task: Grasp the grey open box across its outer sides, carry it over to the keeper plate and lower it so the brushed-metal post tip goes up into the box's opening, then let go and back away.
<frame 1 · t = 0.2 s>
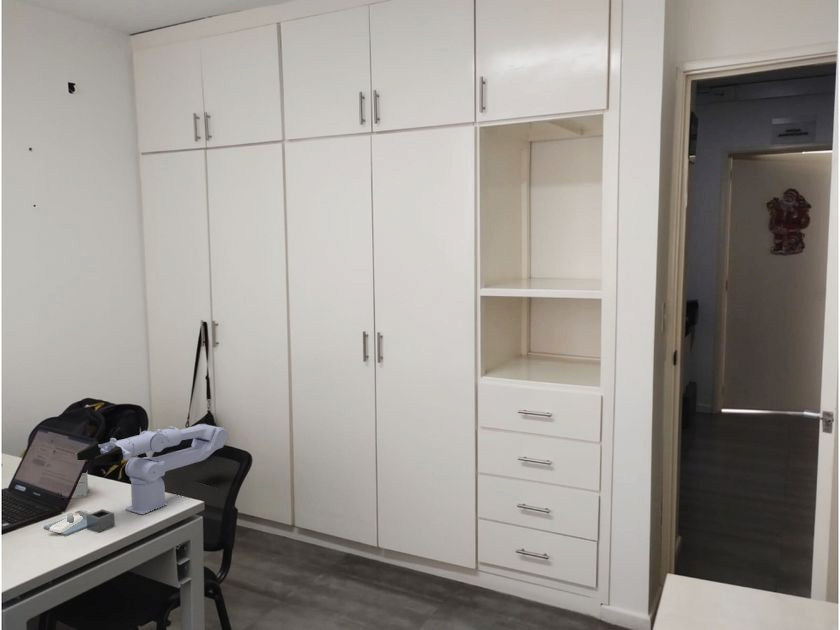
hand: (86, 459, 198), 21 cm above the table, tool horizontal, fingers open, 7 cm apart
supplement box: (75, 495, 227), on the table
grey open box: (100, 527, 202), on the table
keeper: (71, 525, 203), on the table
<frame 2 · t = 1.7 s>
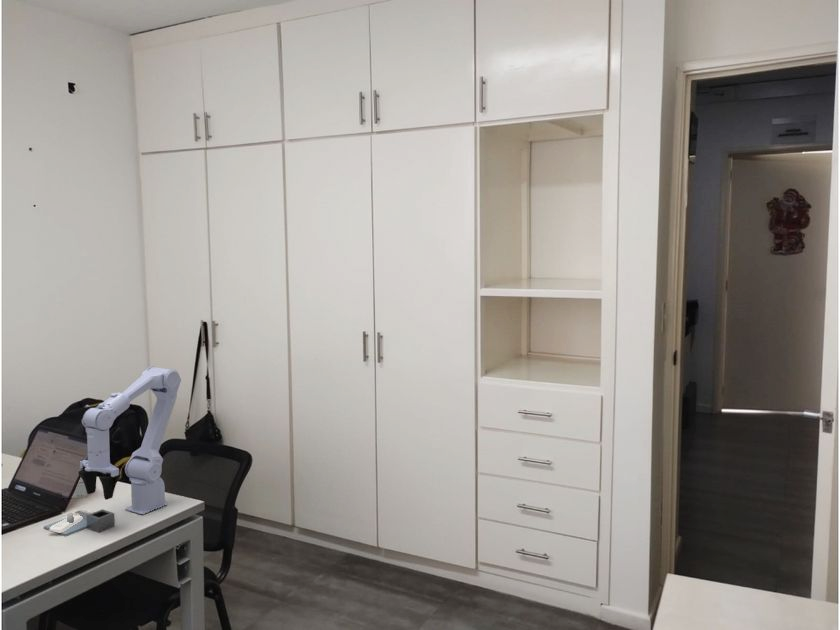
hand: (99, 495, 201), 10 cm above the table, tool pointing down, fingers open, 7 cm apart
nothing on the table moved.
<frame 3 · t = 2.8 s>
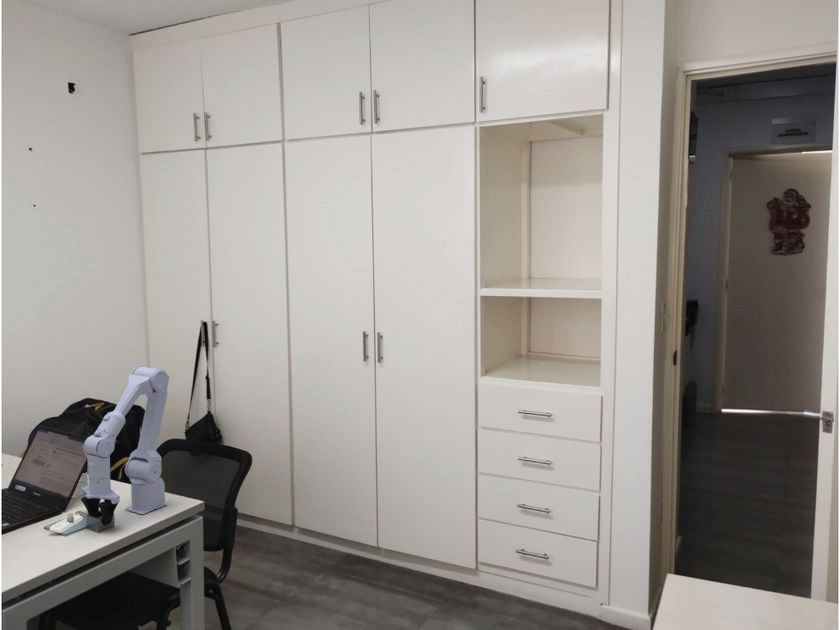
hand: (100, 522, 202), 2 cm above the table, tool pointing down, fingers closed on grey open box, 5 cm apart
grey open box: (100, 527, 202), on the table, touching gripper
everything else where it was.
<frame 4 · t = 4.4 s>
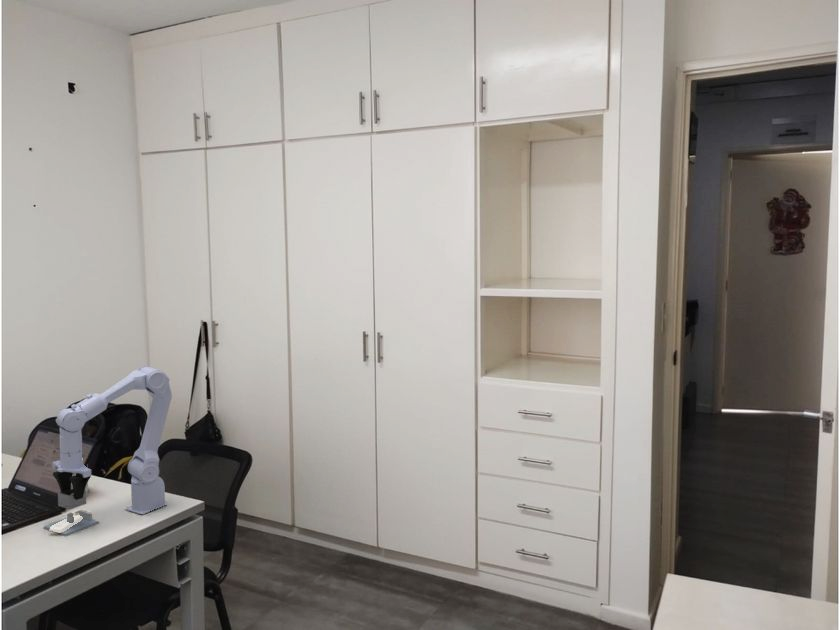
hand: (72, 496, 202), 9 cm above the table, tool pointing down, fingers closed on grey open box, 5 cm apart
grey open box: (72, 504, 202), point 7 cm above the table, touching gripper
everything else where it was.
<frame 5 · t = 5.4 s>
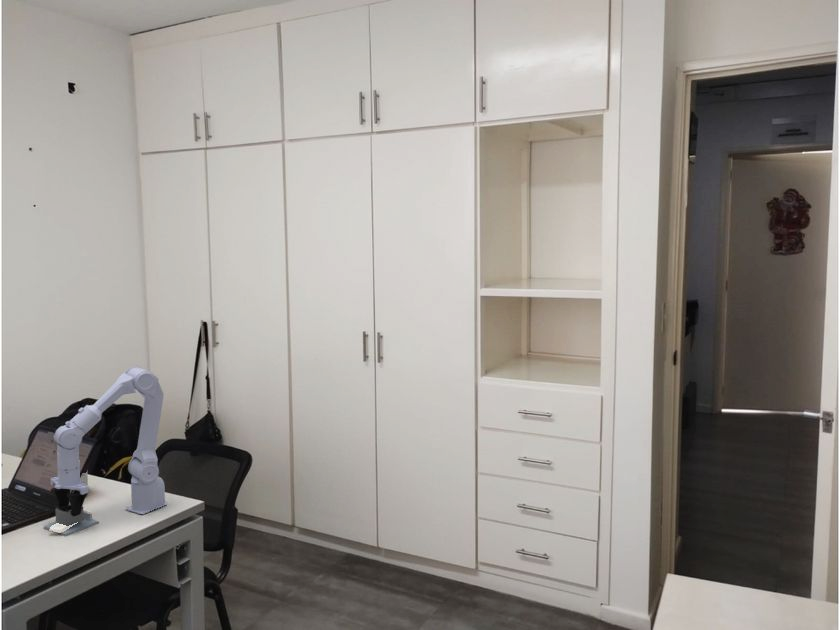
hand: (70, 512, 202), 4 cm above the table, tool pointing down, fingers closed on grey open box, 5 cm apart
grey open box: (69, 521, 202), point 2 cm above the table, touching gripper
everything else where it was.
when the fingers open (4 cm above the table, at t = 6.0 s): grey open box stays where it is, resting on keeper.
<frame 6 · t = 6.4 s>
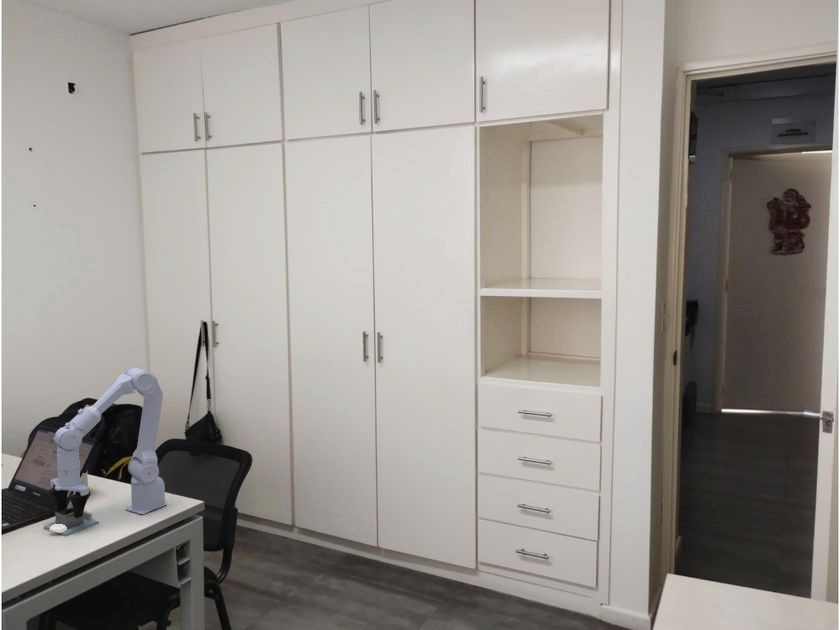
hand: (70, 514, 202), 4 cm above the table, tool pointing down, fingers open, 7 cm apart
grey open box: (69, 524, 203), point 1 cm above the table, touching keeper
everything else where it was.
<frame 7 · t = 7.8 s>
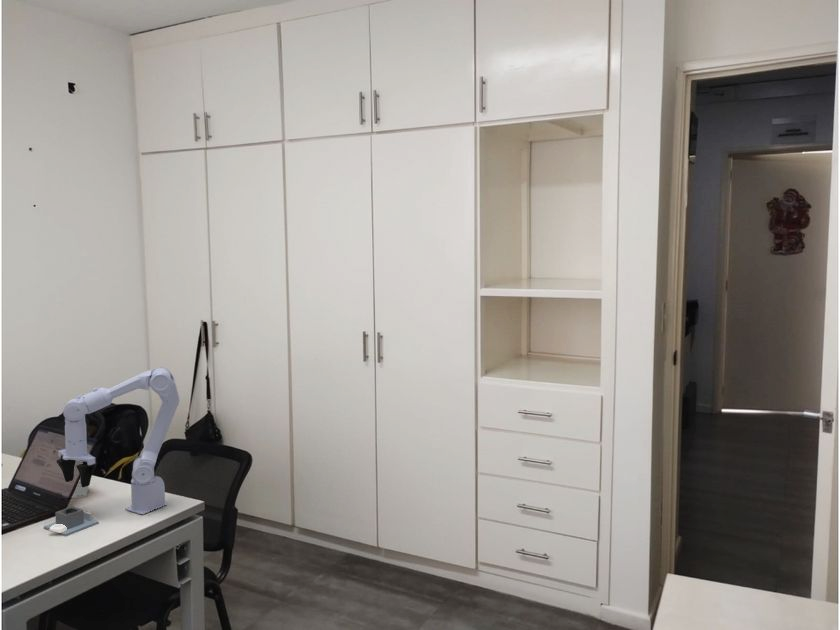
hand: (77, 483, 209), 10 cm above the table, tool pointing down, fingers open, 7 cm apart
nothing on the table moved.
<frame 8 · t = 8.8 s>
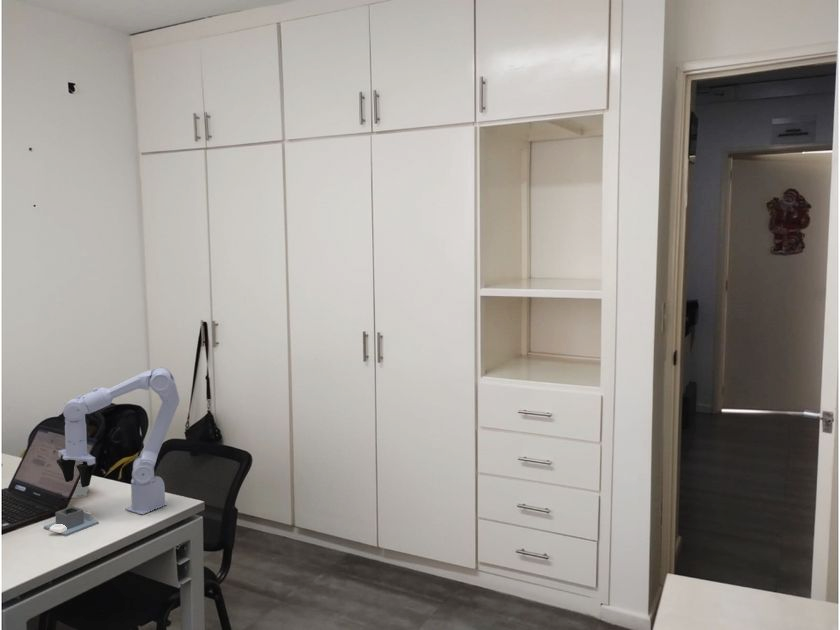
hand: (77, 483, 209), 10 cm above the table, tool pointing down, fingers open, 7 cm apart
nothing on the table moved.
at the end: grey open box 0.2 cm off-centre on the keeper, point 0.6 cm above the keeper's base; the gripper is holding nothing; grey open box tilted 0° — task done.
